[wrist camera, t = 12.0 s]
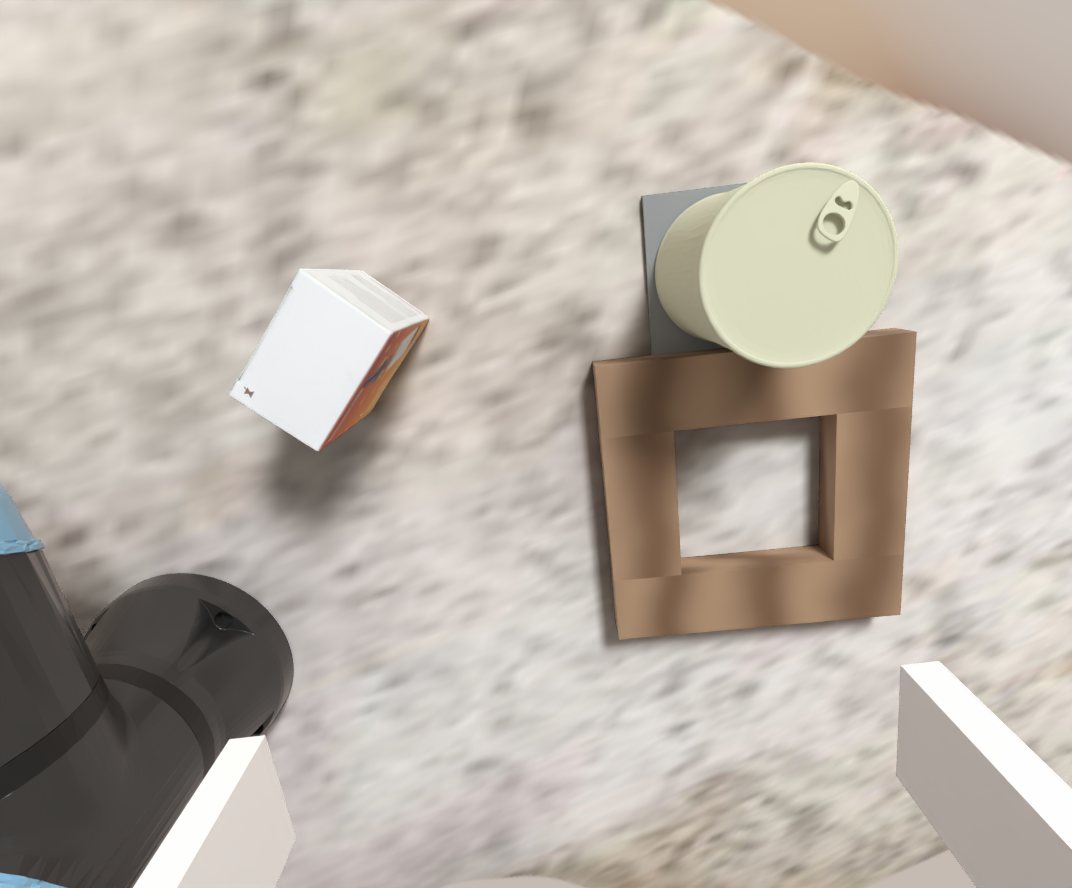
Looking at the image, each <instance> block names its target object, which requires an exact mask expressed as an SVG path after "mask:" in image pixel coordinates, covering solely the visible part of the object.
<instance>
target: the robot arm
mask: <svg viewBox="0 0 1072 888" xmlns="http://www.w3.org/2000/svg"><path fill="white" fill-rule="evenodd" d="M43 548H45V547H44V545H43V543H42V541H41V540H39V539H36V538H35V537H34V535H33V534H32V532H31V531H30V529H29V527H28V526H27V524H26V522H25V521H24V519H23V517H22V515H21V513H20V512H19V510H18V508H17V506H16V504H15V503H14V501H13V499H12V497H11V496H10V494H9V493H8V492H7V491H6V490H5V489H4V488H3V487H2V486H1V485H0V888H275V887H276V885H277V883H278V880H279V878H280V875H281V873H282V871H283V868H284V866H285V864H286V861H287V859H288V856H289V854H290V852H291V849H292V847H293V845H294V842H295V840H296V835H295V832H294V829H293V825H292V822H291V819H290V815H289V812H288V809H287V805H286V802H285V799H284V796H283V792H282V789H281V786H280V782H279V779H278V776H277V772H276V769H275V766H274V762H273V759H272V756H271V752H270V749H269V746H268V742H267V739H266V736H265V735H263V736H261V735H262V734H263V733H264V732H265V731H266V730H267V729H268V727H269V726H270V725H271V724H272V722H273V721H274V719H275V717H276V716H277V714H278V713H279V711H280V709H281V708H282V706H283V704H284V703H285V701H286V699H287V697H288V694H289V692H290V689H291V685H292V680H293V659H292V654H291V650H290V646H289V644H288V641H287V639H286V636H285V634H284V632H283V631H282V629H281V627H280V626H279V624H278V623H277V621H276V620H275V619H274V617H273V616H272V615H271V614H270V613H269V612H268V610H267V609H266V608H265V607H264V606H262V605H261V604H260V603H259V602H258V601H257V600H255V599H254V598H253V597H251V596H250V595H249V594H247V593H246V592H244V591H242V590H241V589H239V588H237V587H235V586H233V585H231V584H229V583H226V582H224V581H221V580H218V579H215V578H211V577H208V576H203V575H197V574H186V573H177V574H167V575H161V576H156V577H153V578H150V579H147V580H144V581H142V582H140V583H138V584H136V585H135V586H133V587H131V588H130V589H129V590H127V591H126V592H125V593H123V594H122V595H121V596H119V597H118V598H117V599H115V600H114V601H113V602H112V603H110V604H109V605H108V606H107V607H106V608H105V609H104V610H103V611H102V612H101V613H100V614H99V615H98V616H97V618H96V619H95V620H94V622H93V623H92V625H91V626H90V628H89V630H88V632H87V634H86V636H85V638H83V636H82V634H81V632H80V630H79V628H78V626H77V624H76V622H75V619H74V617H73V615H72V613H71V611H70V609H69V607H68V605H67V602H66V600H65V598H64V596H63V594H62V592H61V590H60V587H59V585H58V583H57V581H56V579H55V577H54V575H53V573H52V570H51V568H50V566H49V564H48V562H47V560H46V558H45V555H44V553H43V551H42V549H43ZM896 776H897V777H898V779H899V780H900V782H901V783H902V784H903V786H904V787H905V788H906V790H907V791H908V793H909V794H910V795H911V797H912V798H913V800H914V801H915V802H916V804H917V805H918V807H919V808H920V809H921V811H922V812H923V814H924V815H925V816H926V818H927V819H928V821H929V822H930V823H931V825H932V826H933V828H934V829H935V830H936V832H937V833H938V835H939V836H940V837H941V839H942V840H943V841H944V843H945V844H946V846H947V847H948V848H949V850H950V851H951V853H952V854H953V855H954V857H955V858H956V860H957V861H958V862H959V864H960V865H961V867H962V868H963V869H964V871H965V872H966V874H967V875H968V876H969V878H970V879H971V880H972V882H973V883H974V885H975V886H976V887H977V888H1072V789H1071V788H1070V787H1069V786H1068V785H1067V784H1066V783H1065V782H1064V781H1063V780H1062V779H1061V778H1060V777H1059V776H1058V775H1057V774H1056V773H1055V772H1054V771H1053V770H1052V769H1051V768H1049V767H1048V766H1047V765H1046V764H1045V763H1044V762H1043V761H1042V760H1041V759H1040V758H1039V757H1038V756H1037V755H1036V754H1035V753H1034V752H1033V751H1032V750H1031V749H1030V748H1029V747H1028V746H1027V745H1026V744H1025V743H1024V742H1022V741H1021V740H1020V739H1019V738H1018V737H1017V736H1016V735H1015V734H1014V733H1013V732H1012V731H1011V730H1010V729H1009V728H1008V727H1007V726H1006V725H1005V724H1004V723H1003V722H1002V721H1001V720H1000V719H999V718H998V717H997V716H996V715H994V714H993V713H992V712H991V711H990V710H989V709H988V708H987V707H986V706H985V705H984V704H983V703H982V702H981V701H980V700H979V699H978V698H977V697H976V696H975V695H974V694H973V693H972V692H971V691H970V690H969V689H968V688H966V687H965V686H964V685H963V684H962V683H961V682H960V681H959V680H958V679H957V678H956V677H955V676H954V675H953V674H952V673H951V672H950V671H949V670H948V669H947V668H946V667H945V666H944V665H943V664H942V663H941V662H940V661H935V662H926V663H916V664H907V665H901V667H900V692H899V716H898V740H897V765H896Z"/></svg>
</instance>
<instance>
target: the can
mask: <svg viewBox="0 0 1072 888" xmlns="http://www.w3.org/2000/svg"><path fill="white" fill-rule="evenodd" d="M898 257H899V248H898V238H897V233H896V229H895V225H894V222H893V219H892V216H891V214H890V212H889V210H888V208H887V206H886V205H885V203H884V201H883V200H882V199H881V197H880V196H879V194H878V193H877V192H876V191H875V190H874V189H873V188H872V187H871V186H870V185H869V184H868V183H866V182H865V181H864V180H863V179H861V178H860V177H858V176H857V175H855V174H853V173H851V172H849V171H847V170H845V169H843V168H840V167H837V166H833V165H828V164H822V163H797V164H791V165H786V166H782V167H779V168H776V169H773V170H771V171H768V172H766V173H764V174H762V175H760V176H758V177H756V178H755V179H753V180H752V181H750V182H749V183H747V184H745V185H743V186H740V187H738V188H736V189H733V190H731V191H729V192H725V193H719V194H715V195H712V196H709V197H706V198H704V199H702V200H700V201H698V202H696V203H695V204H693V205H692V206H690V207H689V208H687V209H686V210H685V211H684V212H683V213H682V214H680V215H679V216H678V218H677V219H676V220H675V221H674V222H673V224H672V225H671V226H670V228H669V229H668V231H667V232H666V234H665V236H664V238H663V240H662V242H661V245H660V247H659V251H658V254H657V259H656V265H655V282H656V288H657V293H658V296H659V299H660V302H661V304H662V306H663V308H664V310H665V312H666V313H667V315H668V316H669V317H670V319H671V320H672V321H673V322H674V323H675V324H676V325H677V326H678V327H679V328H681V329H682V330H683V331H685V332H686V333H688V334H690V335H692V336H694V337H696V338H699V339H702V340H705V341H710V342H715V343H717V344H720V345H722V346H724V347H726V348H728V349H730V350H732V351H733V352H735V353H736V354H738V355H739V356H741V357H743V358H745V359H747V360H749V361H751V362H754V363H756V364H759V365H763V366H767V367H773V368H799V367H806V366H810V365H814V364H817V363H820V362H823V361H826V360H828V359H830V358H832V357H834V356H836V355H838V354H840V353H842V352H843V351H845V350H846V349H848V348H849V347H850V346H852V345H853V344H854V343H856V342H857V341H858V340H859V339H860V338H861V337H862V336H863V335H864V334H865V333H866V332H867V331H868V330H869V329H870V328H871V327H872V325H873V324H874V323H875V321H876V320H877V319H878V317H879V316H880V314H881V313H882V311H883V309H884V308H885V306H886V304H887V302H888V299H889V297H890V295H891V292H892V289H893V286H894V283H895V279H896V275H897V269H898Z"/></svg>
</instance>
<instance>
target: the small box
mask: <svg viewBox="0 0 1072 888" xmlns="http://www.w3.org/2000/svg"><path fill="white" fill-rule="evenodd" d="M428 321H429V317H428V316H426V315H425V314H424V313H422V312H421V311H419V310H418V309H417V308H415V307H414V306H412V305H411V304H410V303H408V302H407V301H405V300H404V299H403V298H401V297H400V296H398V295H397V294H395V293H394V292H392V291H391V290H390V289H388V288H387V287H385V286H384V285H382V284H381V283H380V282H378V281H377V280H375V279H374V278H372V277H371V276H369V275H368V274H366V273H365V272H363V271H362V270H339V269H299V270H298V272H297V274H296V276H295V278H294V280H293V282H292V284H291V286H290V288H289V290H288V292H287V294H286V296H285V297H284V299H283V301H282V303H281V305H280V307H279V308H278V310H277V312H276V314H275V315H274V317H273V319H272V321H271V323H270V324H269V326H268V328H267V330H266V331H265V333H264V335H263V337H262V339H261V340H260V342H259V344H258V346H257V347H256V349H255V351H254V352H253V354H252V356H251V358H250V359H249V361H248V363H247V364H246V366H245V368H244V369H243V371H242V373H241V374H240V376H239V377H238V379H237V380H236V382H235V383H234V385H233V387H232V388H231V390H230V391H229V393H228V395H229V396H231V397H232V398H234V399H235V400H237V401H238V402H240V403H242V404H243V405H245V406H246V407H248V408H249V409H251V410H252V411H254V412H256V413H257V414H259V415H260V416H262V417H263V418H265V419H267V420H268V421H270V422H271V423H273V424H274V425H276V426H278V427H279V428H281V429H282V430H284V431H285V432H287V433H288V434H290V435H292V436H293V437H295V438H296V439H298V440H300V441H301V442H303V443H304V444H306V445H308V446H309V447H311V448H313V449H314V450H315V451H318V452H319V451H321V450H322V449H323V448H325V447H326V446H327V445H328V444H330V443H331V442H332V441H334V440H335V439H336V438H338V437H339V436H340V435H342V434H343V433H344V432H345V431H347V430H348V429H349V428H351V427H352V426H353V425H355V424H356V423H357V422H358V421H360V420H361V419H362V418H364V417H365V416H366V415H367V414H369V413H370V412H371V411H372V410H373V408H374V407H375V405H376V403H377V402H378V400H379V398H380V396H381V395H382V393H383V391H384V390H385V388H386V386H387V385H388V383H389V382H390V380H391V378H392V377H393V375H394V374H395V372H396V371H397V369H398V368H399V366H400V365H401V363H402V362H403V360H404V359H405V357H406V356H407V354H408V352H409V351H410V349H411V348H412V346H413V345H414V343H415V342H416V340H417V338H418V337H419V335H420V334H421V332H422V331H423V329H424V328H425V326H426V324H427V323H428Z"/></svg>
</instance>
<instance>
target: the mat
mask: <svg viewBox="0 0 1072 888" xmlns="http://www.w3.org/2000/svg"><path fill="white" fill-rule="evenodd" d="M745 184H747V183H743V184H735V185H726V186H718V187H710V188H702V189H694V190H686V191H678V192H670V193H662V194H654V195H646V196H642V209H643V225H644V241H645V257H646V273H647V290H648V306H649V322H650V338H651V354H652V356H656V355H665V354H674V353H683V352H692V351H701V350H710V349H719V348H726V347H724V346H722V345H720V344H717V343H715V342H710V341H705V340H702V339H699V338H696V337H694V336H692V335H690V334H688V333H686V332H685V331H683V330H682V329H681V328H679V327H678V326H677V325H676V324H675V323H674V322H673V321H672V320H671V319H670V317H669V316H668V315H667V313H666V312H665V310H664V308H663V306H662V304H661V302H660V299H659V296H658V293H657V288H656V282H655V265H656V259H657V254H658V251H659V247H660V245H661V242H662V240H663V238H664V236H665V234H666V232H667V231H668V229H669V228H670V226H671V225H672V224H673V222H674V221H675V220H676V219H677V218H678V216H679V215H680V214H682V213H683V212H684V211H685V210H686V209H687V208H689V207H690V206H692V205H693V204H695V203H696V202H698V201H700V200H702V199H704V198H706V197H709V196H712V195H715V194H719V193H725V192H729V191H731V190H733V189H736V188H738V187H740V186H743V185H745Z"/></svg>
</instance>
